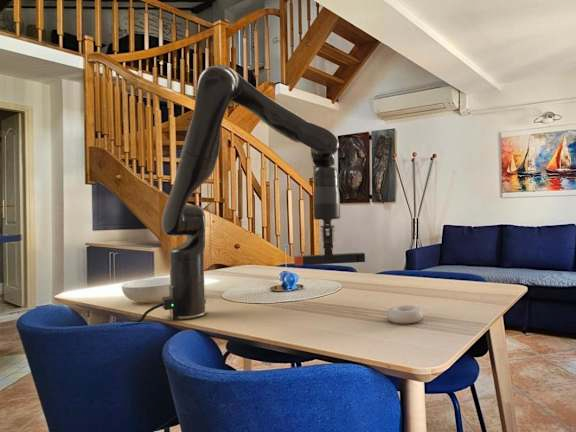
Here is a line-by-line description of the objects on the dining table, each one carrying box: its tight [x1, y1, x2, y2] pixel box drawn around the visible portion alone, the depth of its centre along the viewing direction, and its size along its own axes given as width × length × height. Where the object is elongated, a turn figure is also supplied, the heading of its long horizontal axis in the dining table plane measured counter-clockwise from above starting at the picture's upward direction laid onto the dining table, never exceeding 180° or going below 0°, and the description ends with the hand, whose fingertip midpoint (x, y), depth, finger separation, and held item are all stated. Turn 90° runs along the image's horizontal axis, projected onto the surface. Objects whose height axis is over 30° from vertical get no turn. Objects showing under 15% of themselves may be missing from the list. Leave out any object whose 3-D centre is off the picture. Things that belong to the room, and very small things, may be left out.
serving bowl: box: [120, 276, 170, 304], centre depth 149 cm, size 21×21×7 cm
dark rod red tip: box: [293, 252, 366, 266], centre depth 120 cm, size 20×4×2 cm, turn 98°
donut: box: [386, 304, 424, 325], centre depth 115 cm, size 10×4×10 cm
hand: (328, 262), depth 120 cm, fingers closed on dark rod red tip, 3 cm apart
